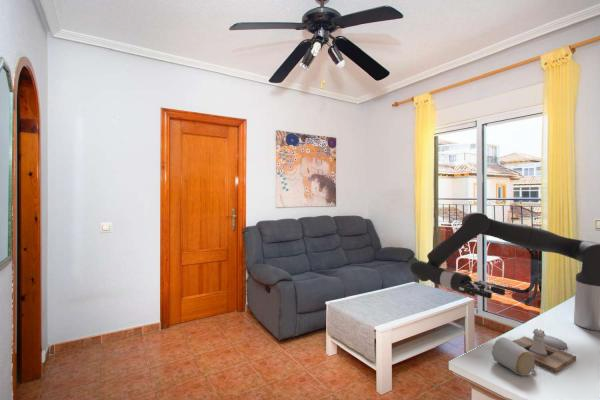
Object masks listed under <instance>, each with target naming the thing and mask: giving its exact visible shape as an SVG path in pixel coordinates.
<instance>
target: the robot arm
mask: <svg viewBox="0 0 600 400" xmlns="http://www.w3.org/2000/svg"><path fill="white" fill-rule="evenodd" d="M461 224H462V225H461V226H460V227H459V228H458V229H456V230H455V232H454V233H453V234H451V235H450V236H449V237H447V238H446V239H444V240H443V241H441V242H439V244H437V245H436V246H435V247H434V248H433V249H432V250H431V251H429V252H428V253H427V256H426V257H427V259H428V261H424V260H415V261H413V262H412V263H411V264H410V266H409V268H410V272H411V273H412V275H414V276H415V277H417V278H416V279H418V280H419V281H421V282H428V281H430V282H431V283H433V284H435V285H438V286H441V287H444V288H446V289H449V290H451V291H455V292H457V293H460V294H463V295H465V294H466V295H468V296H472V297H475V296H477V297H481V298H486V299H489V300H491V299H492V297H493V294H497V295H500V296H505V294H506V290H505V289H504V288H501V287H497V286H496V284H495V283H491V282H487V281H483V280H473V279H472V277H471V276H470V275H469V274H465V273H462V272H459V271H454V270H449V269H445V268H443V267H442V268H441V265H443V264H444V263H445V262H447V261H448V259H450V258H451V257H452V256H453V255H454V254H455V253H457V252H458V251H459V250H460V249H461V248H462V247H463V246H465V245H466V244H467V243H469V242H470V241H471V240H473V239H475V238H476V237H477V236H479V235H484V236H489V237H493V238H497V239H499V240H502V241H505V242H507V243H509V244H513V245H516V246H519V247H523V248H525V249H526V248H527V249H528V250H534V251H537V252H544V253H553V254H554V253H555V254H558V255H562V256H565V257H568V258H571V259H574V260H576V261H578V262H580V263H581V270H580V271H579V272H578V273H576V275H575V291H574V308H573V323H574V324H575V325H576V326H578V327H581V328H584V329H588V330H591V331H598V332H600V243H598V242H594V241H589V240H583V239H576V238H571V237H565V236H562V235H559V234H556V233H554V232H552V231H549V230H546V229H542V228H541V227H540V228H539V227H535V226H531V225H527V224H523V223H522V224H521V223H518V222H517V223H514V222H506V221H500V220H497V219H493V218H489V216H487V215H486V214H485V213H483V212H479V211H478V212H476V211H475V212H470V213H468V214H465V216H464V217H463V218H462V220H461Z"/></svg>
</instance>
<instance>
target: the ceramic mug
mask: <svg viewBox="0 0 600 400" xmlns="http://www.w3.org/2000/svg"><path fill="white" fill-rule="evenodd" d="M512 341H513V340H511V339H509V338H507V337H500V338H498V339H496V340H495V341H494V343H493V345H492V349H491V356H492V358H493V360H494V361H496V362H497V363H498V364H500V365H502V366H504V368H507V369H509V370H510V371H512V372H513V373H515V374H517V375H520V376H527V375H529V374H530V373H531V372H532V371H533V370H535V368H536V364H534V357H533V355H532V354H531V353H530V352H529V351H530V350H528V351H527V350H526V349H524V348H523V347H521V346H519V345H517V344H516V343H514V342H512Z"/></svg>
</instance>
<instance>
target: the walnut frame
mask: <svg viewBox="0 0 600 400" xmlns="http://www.w3.org/2000/svg"><path fill="white" fill-rule="evenodd" d="M511 341H512V342H514V343H516V344H517V345H519V346H521V347H523V348H524V349H526V350H527V351H529V352H530V347H531V346H532V345H533V342H534V340H533V338H530V337H527V336H525V335H524V336H521V337H519V338H517V339H514V340H511ZM544 348H545V350H546V352H547V354H546V355H547V357H546V358H545V357H542V356H540V355H537V354H535V353H533V352H530V353H531V354H532V355H533V357H534V364H535V366H536V365H537V366H538V367H541V368H542V369H545V370H547V371H550V372H552V373H554V374H556V373H558V372H559V371H561V370H563V369H564V368H566V367H568V366H569V365H571V364H572V363H574V362H576V361H577V356H576V355H574V354H571V353H569V352H567V351H564V350H559V349H556V348H554V347H551V346H548V345H546V344H544Z"/></svg>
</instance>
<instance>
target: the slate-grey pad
mask: <svg viewBox="0 0 600 400" xmlns="http://www.w3.org/2000/svg"><path fill="white" fill-rule="evenodd" d="M545 335H546V336H544V339H545V340H544V344H546V345H548V346H551V347H554V348H556V349H559V350H561V351H564V350H567V349H568V344H567V342H565V341H563V340H562V339H560V338H558V337H555V336H551V335H548V334H545ZM532 339H533V340H534V337H533V336H532Z"/></svg>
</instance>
